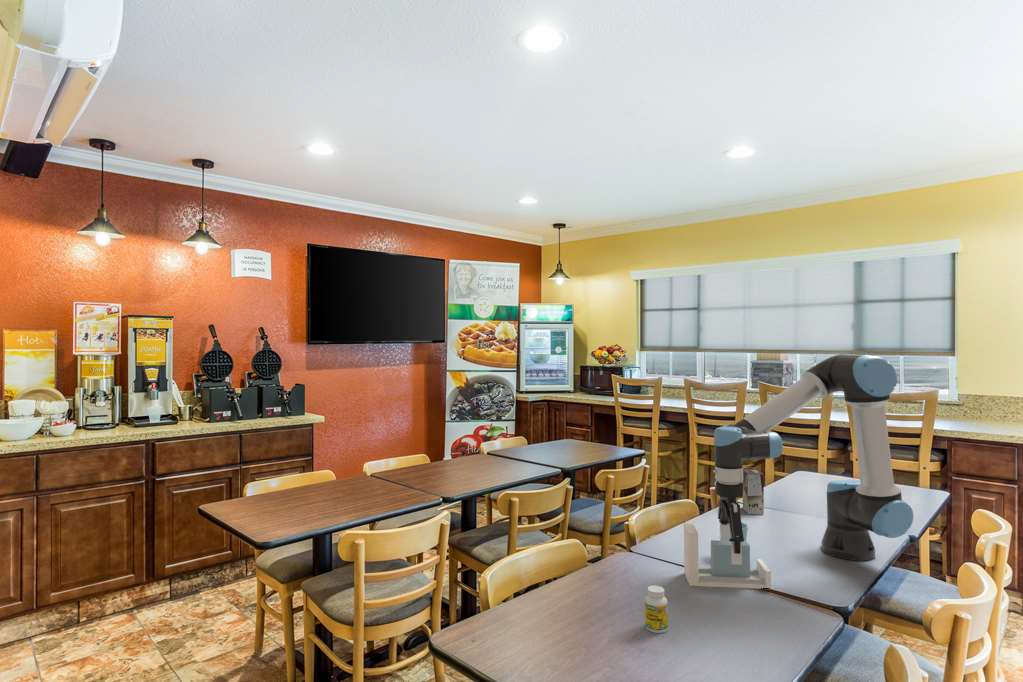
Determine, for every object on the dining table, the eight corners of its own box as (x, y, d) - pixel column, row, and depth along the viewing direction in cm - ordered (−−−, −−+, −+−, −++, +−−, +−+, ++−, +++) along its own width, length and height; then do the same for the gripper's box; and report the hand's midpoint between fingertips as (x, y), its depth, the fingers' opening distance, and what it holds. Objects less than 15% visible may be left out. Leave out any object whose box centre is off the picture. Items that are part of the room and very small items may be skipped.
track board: (761, 576, 172) (761, 525, 172) (771, 589, 163) (770, 535, 163) (684, 573, 175) (683, 522, 175) (689, 585, 166) (689, 532, 166)
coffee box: (764, 515, 230) (764, 474, 230) (747, 514, 231) (747, 473, 231) (758, 508, 239) (757, 468, 239) (741, 507, 240) (741, 468, 240)
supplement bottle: (669, 624, 144) (668, 585, 144) (666, 635, 139) (666, 595, 139) (646, 621, 146) (646, 582, 146) (643, 631, 141) (643, 591, 141)
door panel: (746, 575, 170) (746, 541, 170) (750, 580, 166) (749, 545, 166) (711, 574, 171) (710, 540, 171) (713, 579, 168) (713, 544, 168)
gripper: (706, 471, 181) (708, 539, 182) (725, 493, 157) (727, 571, 157) (732, 471, 180) (733, 539, 181) (754, 493, 156) (756, 572, 156)
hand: (730, 554), depth 169 cm, fingers open, 13 cm apart
